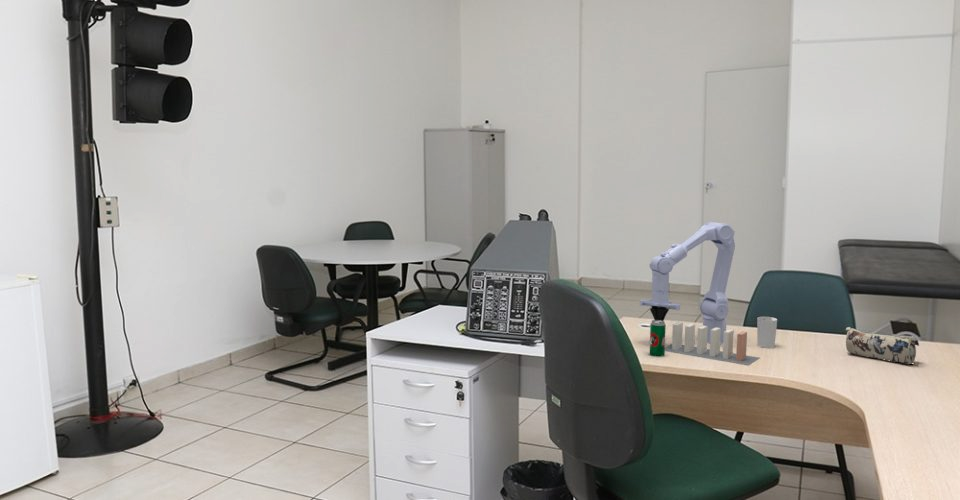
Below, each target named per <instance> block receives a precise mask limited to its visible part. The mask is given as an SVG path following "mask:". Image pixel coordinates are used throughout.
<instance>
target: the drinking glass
mask: <svg viewBox="0 0 960 500" xmlns="http://www.w3.org/2000/svg"><path fill="white" fill-rule="evenodd" d="M756 322H757V337H756V338H757V340H756V341H757V342H756V343H757V345H756V346H758V347H760V348H766V349H773V348H775V347H776V345H775V344H776V335H777V328H778V327H777V326H778V319H777V318H775V317H772V316H771V317H770V316H758V317H757V321H756Z"/></svg>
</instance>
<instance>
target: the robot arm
mask: <svg viewBox="0 0 960 500" xmlns="http://www.w3.org/2000/svg"><path fill="white" fill-rule="evenodd" d="M734 237H735V230H734V229H733V227H732V226H731V225H730V224H728V223H722V222H715V221H708V222H706V223H705V224H704V225H702V226H700V229H699V230H697V231H695V233H694V234H692V235H691V236H690V237H689V238H687V239H686V240H685V241H684V242H683V243H681V244H680V243H673V244H671V245H670V248H669V249H667V250H666V251H662V252H661V253H660V255H656V256H654V257H653V258H652V259H651V261H650V263H649V268H650V270H651V272H652V273H651V274H652V277H651V278H652V279H651V280H652V282H651V299H640V300H639V306H640V307H641V306H644V307H645V306H646V307H650V308H649V310H650V313H651V314H652V317H653V320H662V321H664V322H665V318H666V317H667V314H668V312H669V311H670V310H674V311H680V310H681V304H680V303H675V302H670V301H669V289H670V288H669V287H670V286H669V284H670V283H669V282H670V273H671V272H672V270H673V268H674V266H676V265H677V264H678V263H680V262H681V261H682V260H683V259H685V258H687V256H688V252H690V251H691V250H693V249H694V248H696V247H697V246H699V245H700V244H702V243H703V242H705V241H711V242H712V243H713V244H714V245H715V246H716V248H717V252H716V253H717V254H716V258H715V261H714V268H713V271H712V278H711V281H710V287H709V290H708V291H707V292H706V293H705V294H704V296H703V298H702V300H701V301H700V305H699V310H700V313H701V314H702V319H703V320H702V326H708V333H707V344H708V345H710V332H711V330H712V329H714V328H716V327H717V328H721V331H720V346H721V345H723V338H724V332H725V331H727V322H726V318H727V316H728V315H729V299H728V297H727V296H726V291H727V285H728V281H729V276H730V272H731V267H732V263H733V262H732V261H733V258H734V253H735V247H736V245H735V244H736V243H735V239H734Z"/></svg>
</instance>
